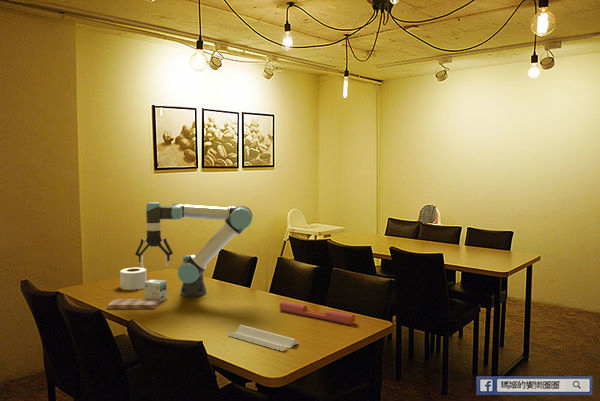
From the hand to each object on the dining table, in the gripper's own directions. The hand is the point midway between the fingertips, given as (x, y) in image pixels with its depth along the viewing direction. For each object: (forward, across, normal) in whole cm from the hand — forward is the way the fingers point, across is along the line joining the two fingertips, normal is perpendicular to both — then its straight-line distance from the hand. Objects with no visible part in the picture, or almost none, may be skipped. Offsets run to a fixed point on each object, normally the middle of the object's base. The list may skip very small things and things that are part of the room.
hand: (154, 267), depth 273 cm
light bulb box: (+19, 0, -1) cm, 19 cm away
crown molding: (+20, -58, +68) cm, 91 cm away
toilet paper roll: (+19, +18, -31) cm, 41 cm away
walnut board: (+19, +9, +10) cm, 23 cm away
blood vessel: (+20, -86, +38) cm, 96 cm away
